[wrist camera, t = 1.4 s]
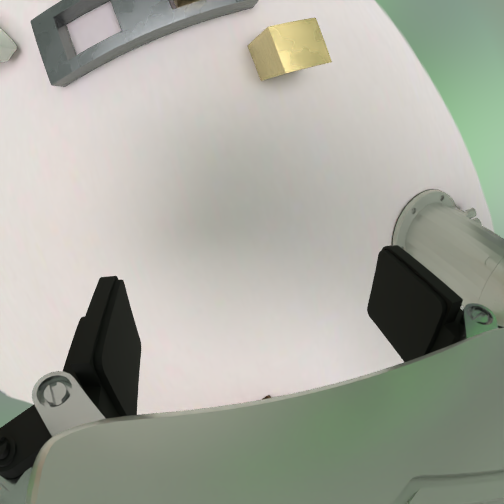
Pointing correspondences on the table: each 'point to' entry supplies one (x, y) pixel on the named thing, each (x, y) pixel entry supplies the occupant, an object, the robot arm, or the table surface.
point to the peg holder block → (132, 35)
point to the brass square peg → (288, 48)
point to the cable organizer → (6, 46)
